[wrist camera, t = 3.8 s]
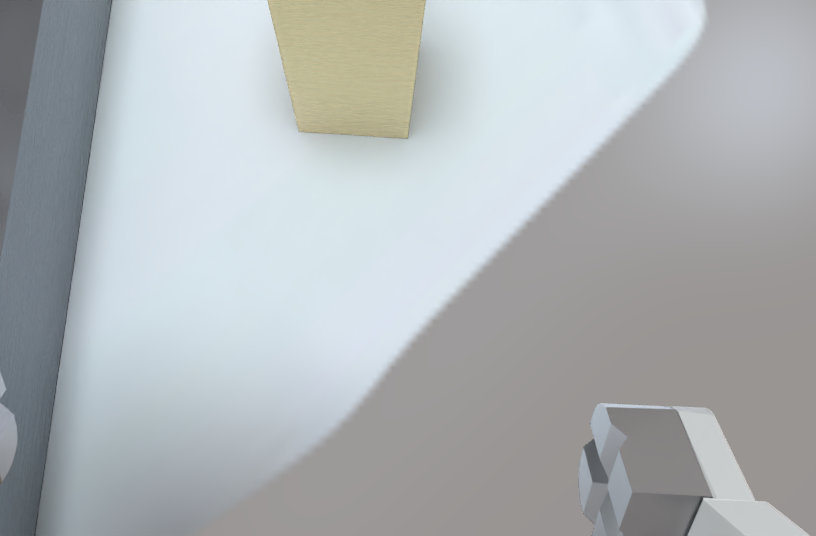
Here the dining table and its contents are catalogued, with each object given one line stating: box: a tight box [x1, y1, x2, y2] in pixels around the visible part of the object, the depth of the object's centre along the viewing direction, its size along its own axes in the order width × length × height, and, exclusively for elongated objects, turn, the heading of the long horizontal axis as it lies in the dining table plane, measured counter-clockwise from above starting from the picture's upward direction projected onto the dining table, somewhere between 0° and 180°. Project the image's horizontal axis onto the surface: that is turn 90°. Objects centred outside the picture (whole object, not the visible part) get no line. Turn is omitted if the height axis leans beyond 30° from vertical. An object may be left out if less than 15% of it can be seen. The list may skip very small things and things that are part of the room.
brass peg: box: [267, 0, 426, 139], centre depth 23 cm, size 4×4×10 cm
